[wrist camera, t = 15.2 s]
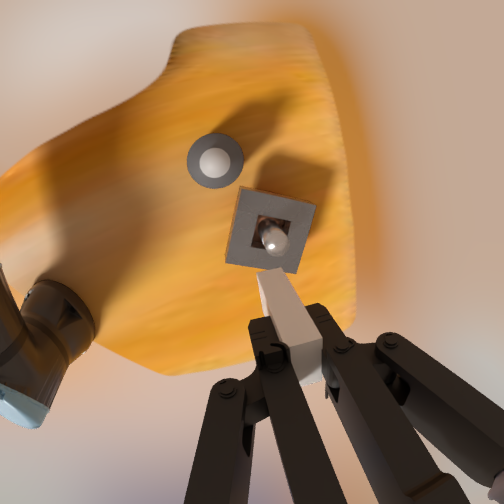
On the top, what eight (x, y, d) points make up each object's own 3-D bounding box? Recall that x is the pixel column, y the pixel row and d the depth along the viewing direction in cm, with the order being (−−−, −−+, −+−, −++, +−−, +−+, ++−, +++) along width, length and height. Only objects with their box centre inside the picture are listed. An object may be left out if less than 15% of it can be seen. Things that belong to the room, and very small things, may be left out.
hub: (227, 245, 37) (230, 274, 29) (240, 185, 34) (247, 198, 26) (284, 255, 39) (302, 285, 31) (300, 198, 36) (325, 215, 28)
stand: (188, 177, 33) (176, 189, 24) (197, 132, 31) (189, 125, 22) (233, 185, 34) (239, 200, 25) (243, 141, 32) (254, 138, 23)
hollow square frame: (224, 255, 34) (225, 262, 32) (239, 185, 31) (241, 188, 29) (291, 266, 36) (295, 274, 34) (309, 201, 33) (316, 205, 31)
